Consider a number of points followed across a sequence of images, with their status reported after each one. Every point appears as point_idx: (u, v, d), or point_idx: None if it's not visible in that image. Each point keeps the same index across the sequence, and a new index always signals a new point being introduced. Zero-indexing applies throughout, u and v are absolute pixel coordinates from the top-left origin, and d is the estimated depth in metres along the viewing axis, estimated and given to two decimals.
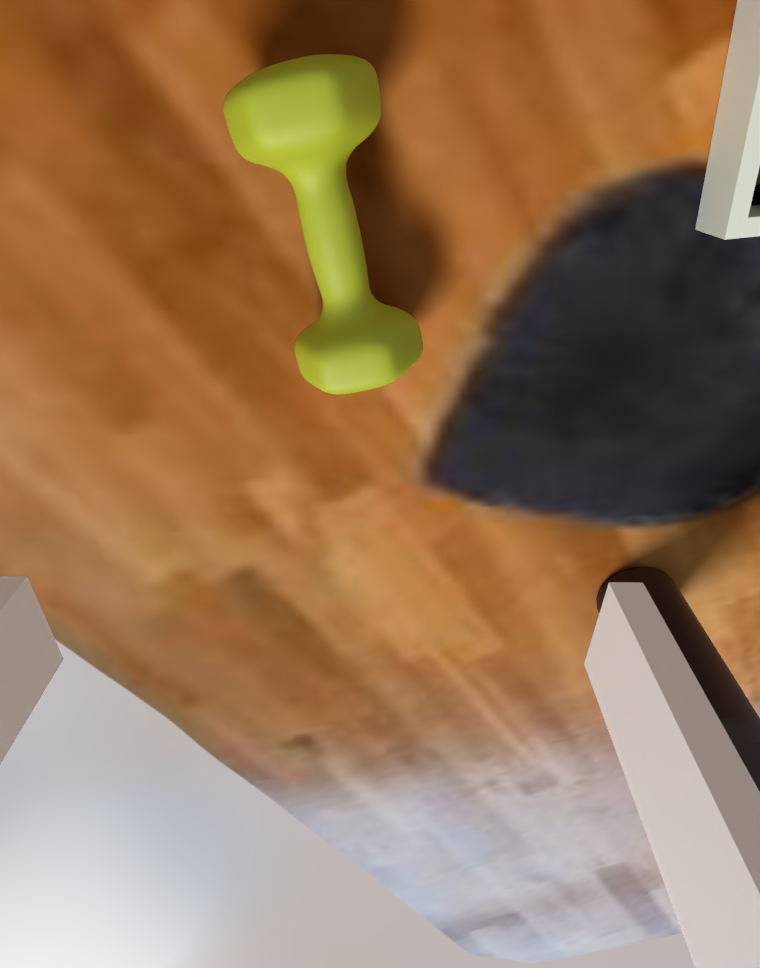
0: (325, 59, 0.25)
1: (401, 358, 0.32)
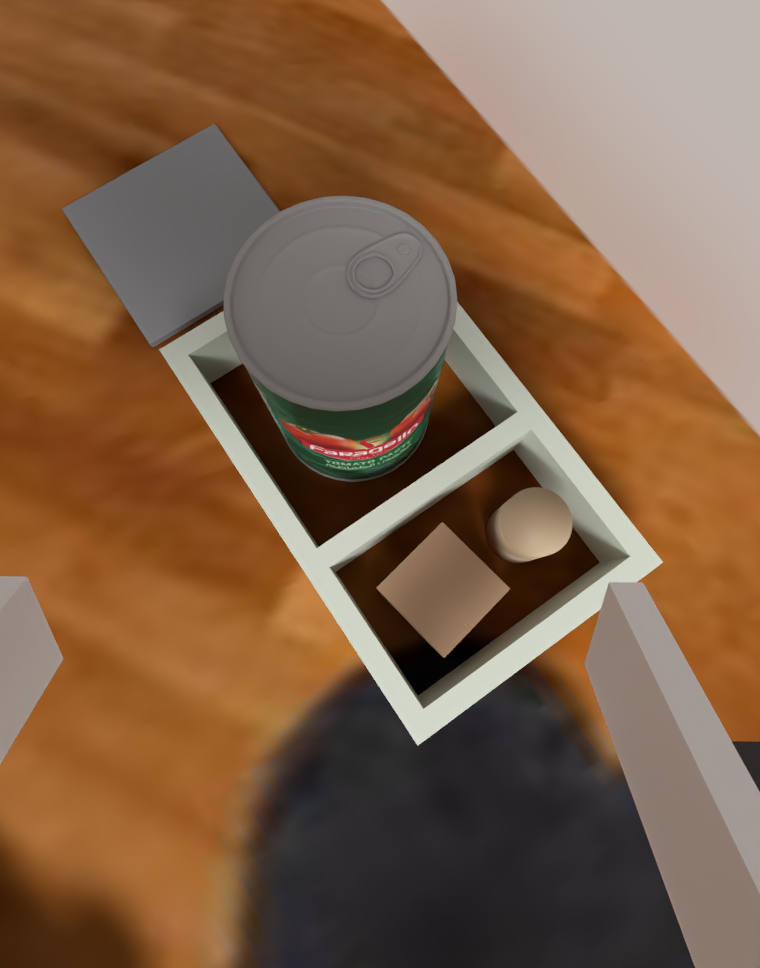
0: None
1: None
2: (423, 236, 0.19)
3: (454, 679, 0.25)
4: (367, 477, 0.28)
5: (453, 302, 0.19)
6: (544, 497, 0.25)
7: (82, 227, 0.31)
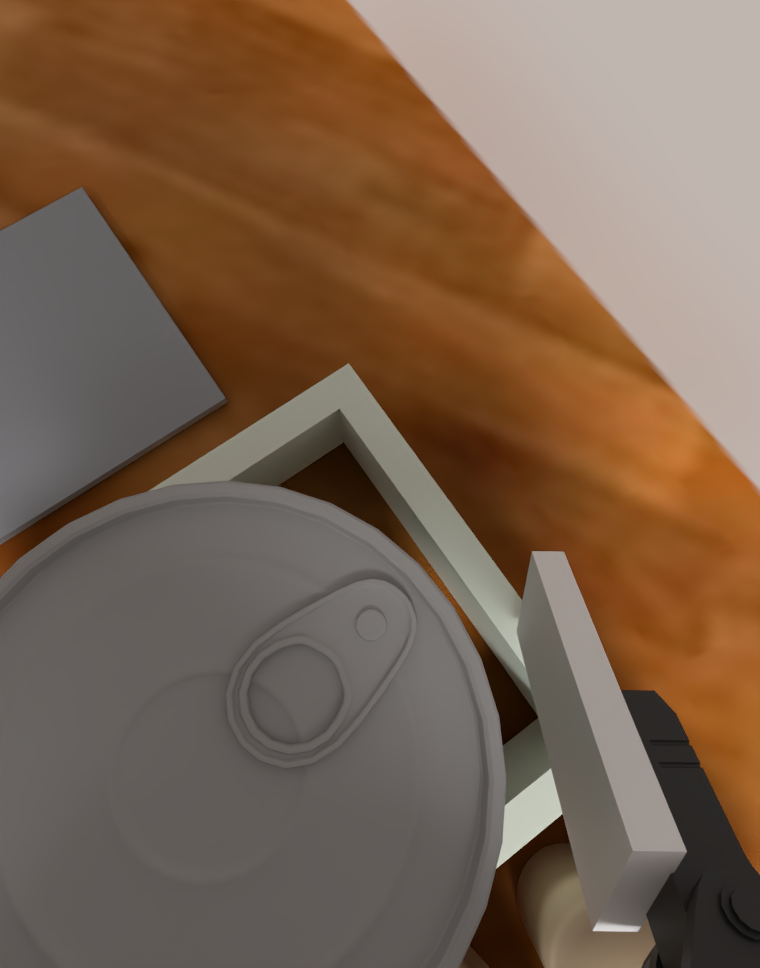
0: None
1: None
2: (419, 591, 0.08)
3: None
4: None
5: (497, 790, 0.07)
6: (637, 934, 0.13)
7: None
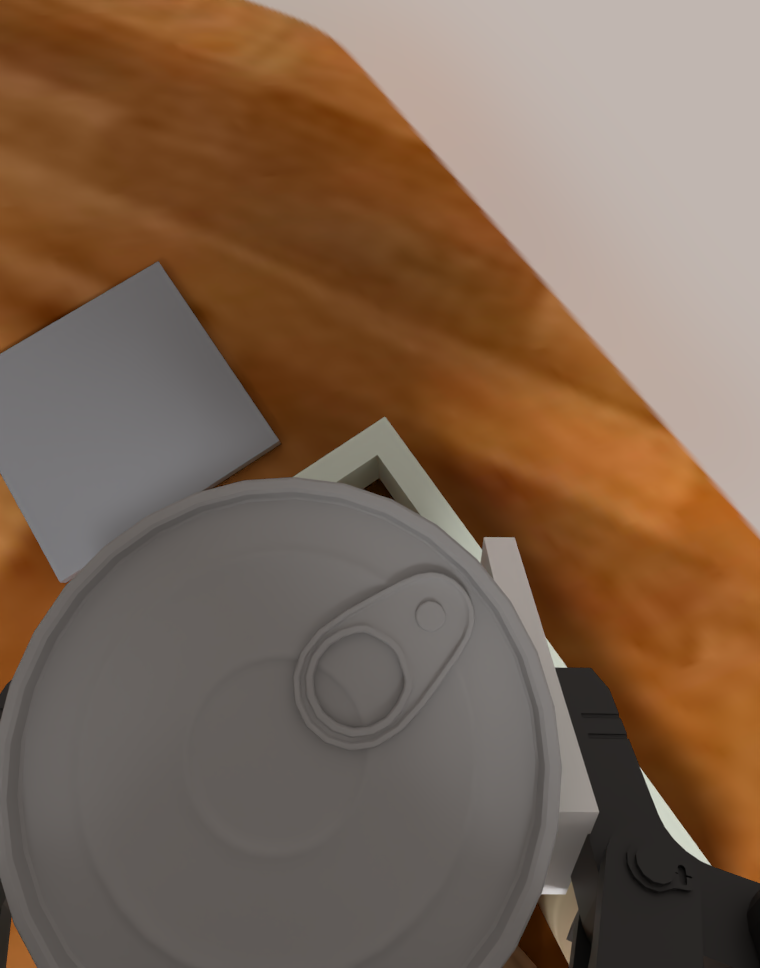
0: None
1: None
2: (476, 585, 0.08)
3: None
4: None
5: (553, 778, 0.08)
6: None
7: None
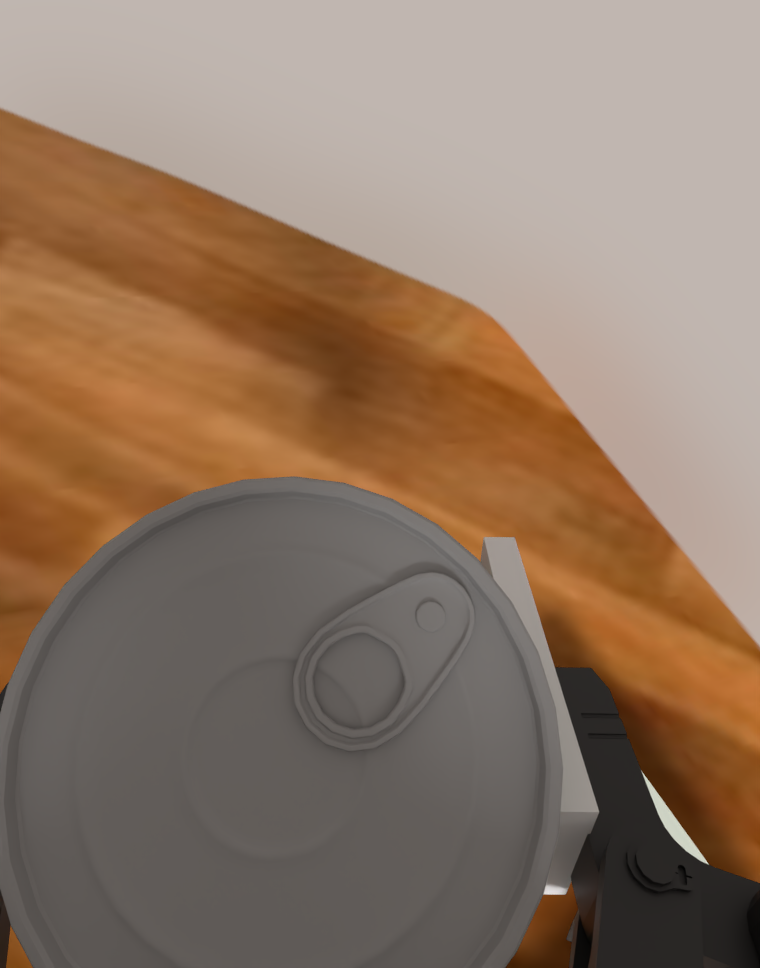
0: None
1: None
2: (476, 585, 0.08)
3: None
4: None
5: (554, 779, 0.08)
6: None
7: None
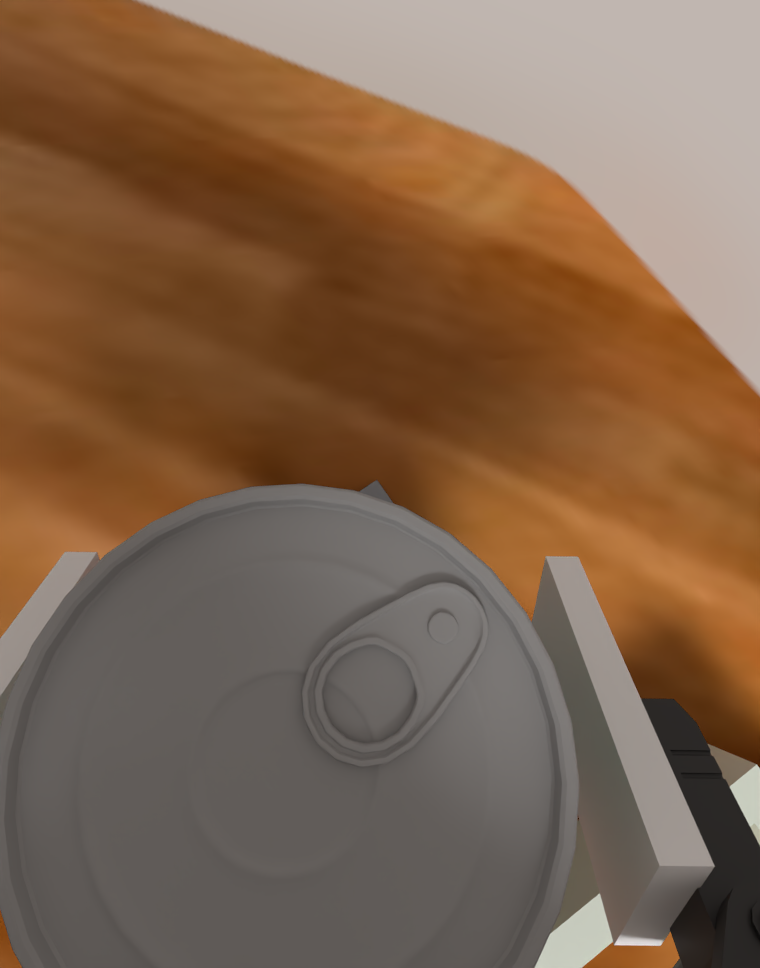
0: None
1: None
2: (490, 595, 0.08)
3: None
4: None
5: (570, 795, 0.07)
6: None
7: None
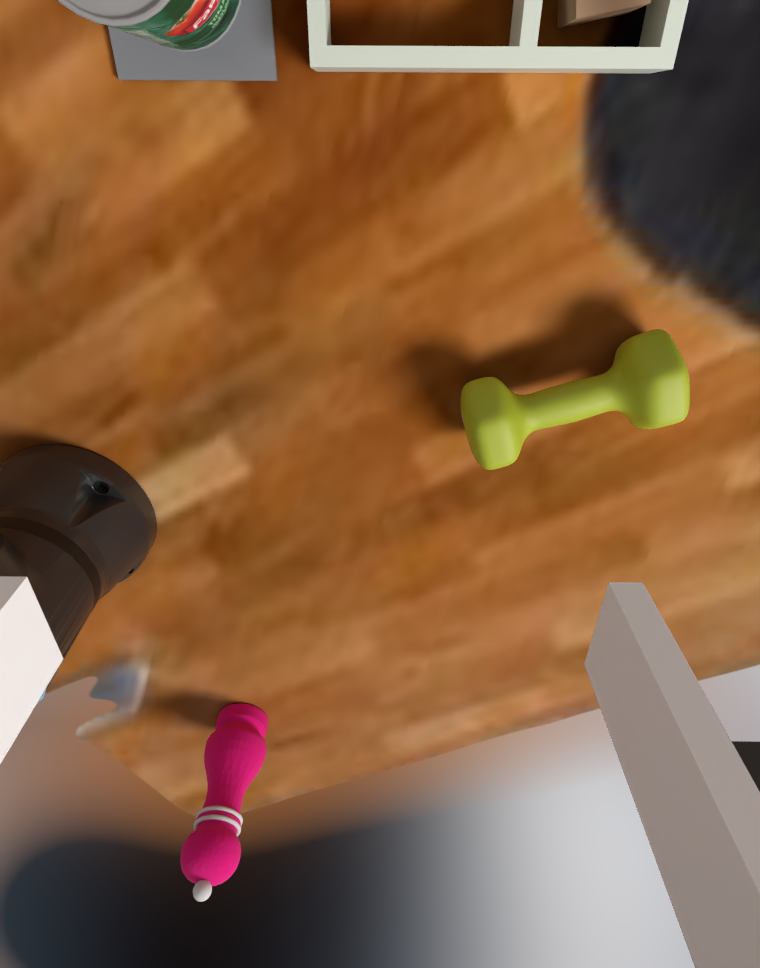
0: (470, 424, 0.42)
1: (667, 362, 0.39)
2: None
3: (659, 10, 0.32)
4: (238, 1, 0.33)
5: None
6: None
7: (144, 72, 0.35)
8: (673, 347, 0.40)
